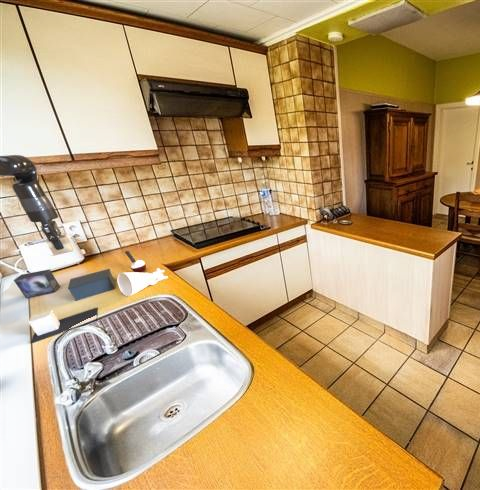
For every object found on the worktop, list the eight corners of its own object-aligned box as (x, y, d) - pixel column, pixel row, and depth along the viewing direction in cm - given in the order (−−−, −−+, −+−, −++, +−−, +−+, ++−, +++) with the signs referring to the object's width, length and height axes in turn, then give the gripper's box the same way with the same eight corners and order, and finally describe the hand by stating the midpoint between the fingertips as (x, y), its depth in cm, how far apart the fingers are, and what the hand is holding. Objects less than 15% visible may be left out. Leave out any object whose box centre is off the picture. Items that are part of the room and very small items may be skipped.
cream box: (53, 255, 109) (45, 241, 106) (55, 252, 112) (47, 238, 109) (72, 251, 112) (64, 237, 109) (73, 248, 115) (65, 234, 113)
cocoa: (148, 272, 147) (140, 252, 142) (134, 276, 143) (125, 256, 138) (146, 266, 153) (138, 248, 148) (132, 270, 149) (123, 251, 145)
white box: (37, 336, 101) (28, 322, 98) (40, 329, 104) (30, 316, 102) (58, 328, 104) (49, 315, 102) (60, 323, 108) (51, 310, 105)
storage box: (75, 301, 123) (67, 288, 120) (77, 291, 132) (70, 279, 129) (115, 288, 132) (109, 276, 129) (115, 280, 140) (109, 268, 137)
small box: (24, 299, 127) (11, 280, 123) (32, 292, 133) (20, 274, 128) (54, 292, 132) (43, 274, 127) (61, 286, 137) (50, 268, 133)
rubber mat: (31, 343, 98) (30, 342, 98) (37, 328, 106) (36, 327, 106) (96, 320, 109) (96, 319, 109) (97, 307, 117) (97, 307, 117)
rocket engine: (163, 258, 138) (121, 267, 122) (176, 274, 137) (135, 286, 120) (156, 272, 143) (114, 283, 126) (168, 288, 141) (128, 301, 125)
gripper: (28, 207, 107) (50, 245, 114) (20, 213, 97) (45, 255, 104) (55, 203, 112) (75, 240, 118) (50, 209, 102) (72, 249, 109)
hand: (61, 247), depth 111 cm, fingers closed on cream box, 5 cm apart
